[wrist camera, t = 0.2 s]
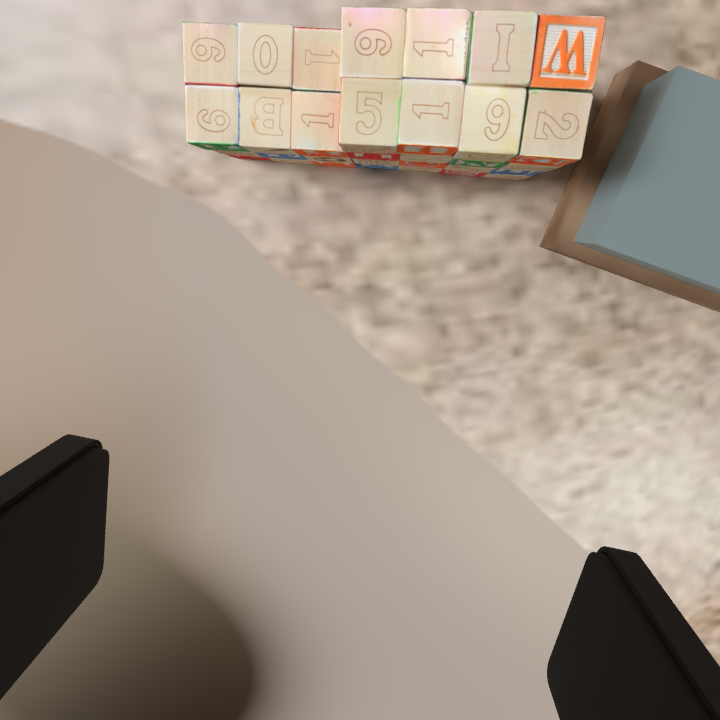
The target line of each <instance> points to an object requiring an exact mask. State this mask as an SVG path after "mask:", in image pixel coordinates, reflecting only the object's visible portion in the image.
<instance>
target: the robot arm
mask: <svg viewBox="0 0 720 720" xmlns="http://www.w3.org/2000/svg"><path fill="white" fill-rule="evenodd" d="M108 473H109V453H108V451H107V450H105V449H102V444H101V442H100V441H99V440H95V439H90V438H85V437H80V436H75V435H69V434H68V435H65V436H63V437H61V438H60V439H58V440H57V441H55V442H54V443H52V444H50V445H49V446H47V447H46V448H44V449H43V450H41V451H40V452H38V453H36V454H35V455H33V456H32V457H30V458H29V459H27V460H26V461H24V462H22V463H21V464H19V465H17V466H16V467H14V468H13V469H11V470H10V471H8V472H6V473H5V474H3V475H2V476H0V700H1V698H2V697H3V696H4V695H5V694H6V692H7V691H8V690H9V689H10V688H11V686H12V685H13V684H14V683H15V682H16V680H17V679H18V678H19V677H20V676H21V674H22V673H23V672H24V671H25V669H26V668H27V667H28V666H29V665H30V664H31V663H32V661H33V660H34V659H35V658H36V656H37V655H38V654H39V653H40V652H41V651H42V649H43V648H44V647H45V646H46V644H47V643H48V642H49V641H50V640H51V639H52V637H53V636H54V635H55V634H56V633H57V631H58V630H59V629H60V628H61V627H62V625H63V624H64V623H65V622H66V621H67V619H68V618H69V617H70V616H71V615H72V613H73V612H74V611H75V610H76V609H77V607H78V606H79V605H80V604H81V603H82V601H83V600H84V599H85V598H86V597H87V595H88V594H89V593H90V592H91V591H92V590H93V588H94V587H95V586H96V584H97V582H98V581H99V578H100V576H101V574H102V570H103V563H104V545H105V526H106V509H107V508H106V507H107V491H108ZM547 678H548V684H549V688H550V691H551V694H552V697H553V700H554V703H555V706H556V709H557V712H558V715H559V718H560V720H720V666H719V665H718V664H717V662H716V661H715V660H714V658H713V657H712V655H711V654H710V653H709V651H708V650H707V649H706V647H705V646H704V644H703V643H702V642H701V640H700V639H699V637H698V636H697V635H696V633H695V632H694V631H693V629H692V628H691V626H690V625H689V624H688V622H687V621H686V620H685V618H684V617H683V615H682V614H681V613H680V611H679V610H678V608H677V607H676V606H675V604H674V603H673V602H672V600H671V599H670V597H669V596H668V595H667V593H666V592H665V591H664V589H663V588H662V586H661V585H660V584H659V582H658V581H657V579H656V578H655V577H654V575H653V574H652V573H651V571H650V570H649V568H648V567H647V566H646V564H645V563H644V562H643V560H642V559H641V557H640V556H639V555H638V554H637V553H634V552H630V551H625V550H620V549H615V548H611V547H606V546H604V547H601V548H600V549H599V550H598V552H597V553H596V552H591V553H590V554H589V555H588V557H587V559H586V562H585V565H584V567H583V570H582V573H581V575H580V578H579V581H578V584H577V586H576V589H575V592H574V594H573V597H572V600H571V602H570V605H569V608H568V610H567V613H566V616H565V619H564V621H563V624H562V627H561V629H560V632H559V635H558V637H557V640H556V643H555V645H554V648H553V651H552V654H551V656H550V659H549V662H548V667H547Z"/></svg>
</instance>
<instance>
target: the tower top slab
mask: <svg viewBox="0 0 720 720" xmlns="http://www.w3.org/2000/svg"><path fill="white" fill-rule="evenodd" d="M573 242H575V243H578V244H581V245H584V246H586V247H589V248H592V249H595V250H597V251H600V252H603V253H606V254H609V255H611V256H614V257H617V258H620V259H622V260H625V261H628V262H631V263H633V264H636V265H639V266H642V267H644V268H647V269H650V270H653V271H656V272H658V273H661V274H664V275H667V276H669V277H672V278H675V279H678V280H680V281H683V282H686V283H689V284H691V285H694V286H697V287H700V288H703V289H705V290H708V291H711V292H714V293H716V294H719V295H720V81H719V80H716V79H714V78H711V77H708V76H706V75H703V74H700V73H697V72H695V71H692V70H689V69H687V68H684V67H681V66H678V67H676V68H674V69H673V70H671V71H669V72H667V73H666V74H664V75H662V76H660V77H658V78H657V79H655V80H653V81H651V82H650V83H648V84H646V85H645V86H644V88H643V90H642V92H641V94H640V97H639V99H638V101H637V103H636V105H635V108H634V110H633V112H632V114H631V116H630V118H629V121H628V123H627V125H626V127H625V129H624V132H623V134H622V136H621V138H620V140H619V142H618V145H617V147H616V149H615V151H614V153H613V156H612V158H611V160H610V162H609V164H608V166H607V169H606V171H605V173H604V175H603V177H602V180H601V182H600V184H599V186H598V188H597V191H596V193H595V195H594V197H593V199H592V202H591V204H590V206H589V208H588V210H587V212H586V215H585V217H584V219H583V221H582V223H581V226H580V228H579V230H578V232H577V234H576V237H575V239H574V241H573Z"/></svg>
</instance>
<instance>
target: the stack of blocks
mask: <svg viewBox="0 0 720 720" xmlns="http://www.w3.org/2000/svg"><path fill="white" fill-rule="evenodd" d="M605 19H606V18H605V17H599V16H573V15H552V14H542V15H538V14H537V13H536V12H534V11H484V10H478V11H475V12H473V13H472V12H471V11H470V10H468V9H466V8H421V7H413V8H409V9H403V8H383V7H342V24H341V29H325V28H306V27H294V26H293V25H284V24H268V23H246V22H239V23H238V24H237V25H233V24H221V23H200V22H183V53H184V82H185V85H186V87H185V106H186V139H187V142H188V143H189V144H192V145H195V146H197V147H200V148H203V149H206V150H213V151H216V152H219V153H222V154H226V155H228V156H231V157H234V158H240V159H258V160H274V161H276V162H284V163H298V164H316V165H324V166H338V167H351V168H355V167H367V168H380V169H393V170H396V169H399V170H410V171H424V172H438V173H440V174H451V175H464V176H477V177H484V178H496V179H509V180H524V179H526V178H530V177H532V176H533V175H536V174H539V173H542V172H548V171H551V170H555V169H558V168H560V167H563V166H564V165H567V164H570V163H573V162H576V161H578V160H580V159H581V157H582V153H583V147H584V141H585V136H586V131H587V125H588V120H589V115H590V110H591V105H592V100H593V94H592V93H590V92H591V91H592V89H593V88H594V84H595V80H596V75H597V69H598V63H599V58H600V52H601V46H602V40H603V34H604V28H605Z"/></svg>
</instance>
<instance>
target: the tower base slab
mask: <svg viewBox="0 0 720 720" xmlns="http://www.w3.org/2000/svg"><path fill="white" fill-rule="evenodd" d="M667 72H668V71H665V70H663V69H660V68H657V67H655V66H652V65H649V64H647V63H644V62H641V61H639V60H638V61H636V62H635V63H633V64H632V65H630V66H629V67H627V68H626V69H624V70H623V71H621V72H620V73H618V74H617V75H615V77H614V79H613V82H612V84H611V86H610V88H609V91H608V93H607V95H606V97H605V100H604V102H603V104H602V106H601V109H600V111H599V113H598V115H597V118H596V120H595V122H594V124H593V127H592V129H591V131H590V134H589V136H588V138H587V140H586V143H585V145H584V147H583V153H582V157H581V159H580V160H578V161H577V163H576V165H575V167H574V170H573V172H572V174H571V176H570V179H569V181H568V183H567V185H566V188H565V190H564V192H563V195H562V197H561V199H560V201H559V204H558V206H557V208H556V210H555V213H554V215H553V217H552V219H551V222H550V224H549V226H548V228H547V231H546V233H545V235H544V237H543V240H542V242H541V244H540V246H539V247H542V248H545V249H548V250H550V251H553V252H556V253H559V254H561V255H564V256H567V257H570V258H572V259H575V260H578V261H581V262H583V263H586V264H589V265H592V266H594V267H597V268H600V269H603V270H605V271H608V272H611V273H614V274H616V275H619V276H622V277H624V278H627V279H630V280H633V281H635V282H638V283H641V284H644V285H646V286H649V287H652V288H655V289H657V290H660V291H663V292H666V293H668V294H671V295H674V296H677V297H679V298H682V299H685V300H688V301H690V302H693V303H696V304H699V305H701V306H704V307H707V308H710V309H712V310H715V311H718V312H720V295H719V294H716V293H714V292H711V291H708V290H705V289H703V288H700V287H697V286H694V285H691V284H689V283H686V282H683V281H680V280H678V279H675V278H672V277H669V276H667V275H664V274H661V273H658V272H656V271H653V270H650V269H647V268H644V267H642V266H639V265H636V264H633V263H631V262H628V261H625V260H622V259H620V258H617V257H614V256H611V255H609V254H606V253H603V252H600V251H597V250H595V249H592V248H589V247H586V246H584V245H581V244H578V243H575V242H573V241H574V239H575V237H576V234H577V232H578V230H579V228H580V226H581V223H582V221H583V219H584V217H585V215H586V212H587V210H588V208H589V206H590V204H591V202H592V199H593V197H594V195H595V193H596V191H597V188H598V186H599V184H600V182H601V180H602V177H603V175H604V173H605V171H606V169H607V166H608V164H609V162H610V160H611V158H612V156H613V153H614V151H615V149H616V147H617V145H618V142H619V140H620V138H621V136H622V134H623V132H624V129H625V127H626V125H627V123H628V121H629V118H630V116H631V114H632V112H633V110H634V108H635V105H636V103H637V101H638V99H639V97H640V94H641V92H642V90H643V88H644V86H645V85H646V84H648V83H650V82H651V81H653V80H655V79H657V78H658V77H660V76H662V75H664V74H666V73H667Z"/></svg>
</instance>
